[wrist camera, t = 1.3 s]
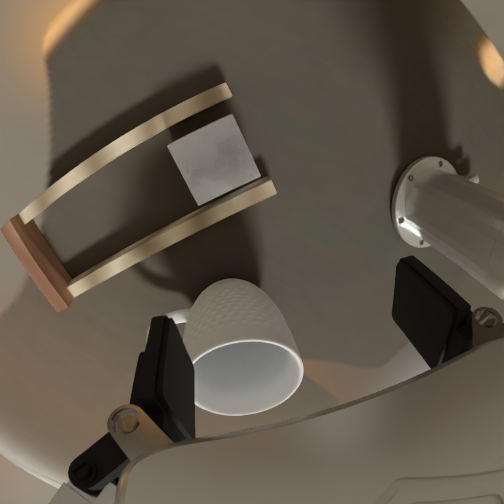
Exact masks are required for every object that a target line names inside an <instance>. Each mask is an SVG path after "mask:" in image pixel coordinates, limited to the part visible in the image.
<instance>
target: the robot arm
mask: <svg viewBox="0 0 504 504" xmlns="http://www.w3.org/2000/svg"><path fill="white" fill-rule="evenodd" d="M478 183H479V178H478V176H477V175H476V174H473V175H471V176H470V177H468V178H466V177H463V176H461V175H458V174H457V172H456V170H455V169H454V167H453V166H452V165H451V164H450V163H449V162H448V161H446V160H445V159H443V158H440V157H436V156H425V157H421V158H419V159H417V160H415V161H414V162H413V163H411V164H410V165H409V166H408V167H407V168H406V169H405V171H404V172H403V174H402V175H401V177H400V178H399V181H398V183H397V185H396V187H395V191H394V194H393V200H392V219H393V224H394V227H395V229H396V231H397V233H398V235H399V236H400V237H401V238H402V239H403V240H404V241H405V242H407V243H408V244H410V245H412V246H414V247H419V248H422V247H428V246H432V247H434V248H435V249H437V250H438V251H440V252H441V253H442V254H444V255H445V256H446V257H448V258H449V259H451V260H452V261H453V262H455V263H456V264H457V265H459V266H460V267H461V268H463V269H464V270H465V271H467V272H468V273H469V274H470V275H472V276H473V277H474V278H476V279H477V280H478V281H479V282H481V283H482V284H483V285H484V286H486V287H487V288H488V289H489V290H490V291H492V292H493V293H494V294H496V295H497V296H498V297H500V298H501V299H503V300H504V195H502V194H500V193H498V192H496V191H494V190H491V189H489V188H487V187H484V186H482V185H479V184H478ZM470 308H471V305H469V303H467V302H466V301H465V300H464V299H463V298H462V297H461V296H460V295H459V294H458V293H456V292H455V291H454V290H453V289H452V288H451V287H450V286H449V285H447V284H446V283H445V282H444V281H443V280H442V279H441V278H439V277H438V276H437V275H436V274H435V273H434V272H432V271H431V270H430V269H429V268H428V267H426V266H425V265H424V264H423V263H422V262H420V261H419V260H418V259H417V258H415V257H414V256H408V257H405V258H401V259H400V261H399V263H397V266H396V277H395V289H394V298H393V307H392V317H393V320H394V321H395V322H396V324H397V325H398V326H399V327H400V329H401V330H402V331H403V333H404V334H405V335H406V336H407V338H408V339H409V340H410V342H411V343H412V344H413V345H414V347H415V348H416V349H417V351H418V352H419V353H420V355H421V356H422V357H423V359H424V360H425V361H426V363H427V364H428V365H429V367H430V368H431V369H430V370H428V371H426V372H424V373H421V374H419V375H417V376H415V377H413V378H410V379H408V380H406V381H404V382H401V383H399V384H396V385H394V386H391V387H389V388H386V389H384V390H381V391H379V392H376V393H374V394H371V395H369V396H365V397H363V398H360V399H357V400H354V401H351V402H348V403H345V404H342V405H339V406H336V407H333V408H330V409H326V410H323V411H320V412H316V413H313V414H309V415H305V416H302V417H298V418H294V419H290V420H286V421H282V422H278V423H274V424H269V425H265V426H260V427H255V428H250V429H245V430H240V431H235V432H229V433H224V434H218V435H211V436H205V437H200V438H195V371H194V366H193V363H192V361H191V358H190V356H189V354H188V352H187V350H186V347H185V345H184V343H183V341H182V338H181V336H180V334H179V331H178V329H177V327H176V324H175V322H174V320H173V318H168V316H167V315H162V316H157V317H153V318H152V320H151V325H150V330H149V334H148V339H147V344H146V349H145V352H141V353H140V354H139V358H138V362H137V367H136V372H135V377H134V383H133V388H132V393H131V399H130V404H126V405H122V406H120V407H118V408H116V409H115V410H114V411H113V412H112V413H111V414H110V416H109V417H108V421H107V428H108V430H109V432H108V433H107V434H106V435H104V436H103V437H102V438H101V439H100V440H98V441H97V442H96V443H95V444H93V445H92V446H91V447H90V448H88V449H87V450H86V451H84V452H83V453H82V454H81V455H79V456H78V457H77V458H76V459H75V460H74V461H73V462H72V463H71V465H70V467H69V471H68V475H69V479H70V480H69V482H68V483H67V484H66V483H63V484H62V485H61V487H60V488H59V490H58V491H57V492H56V494H55V495H54V497H53V498H52V499H51V501H50V502H49V504H504V323H503V320H502V317H501V315H500V314H499V313H498V312H497V311H496V310H494V309H492V308H489V307H480V308H477V309H475V310H474V312H472V311H471V310H470Z"/></svg>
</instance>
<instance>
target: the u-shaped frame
mask: <svg viewBox="0 0 504 504" xmlns="http://www.w3.org/2000/svg"><path fill="white" fill-rule="evenodd" d="M231 97H232V94H231V92H230V90H229V88H228V86H227V84H226V82H225V83H223V84H221V85H218V86H216V87H214V88H211V89H209V90H207V91H205V92H203V93H201V94H198V95H196V96H194V97H192V98H190V99H188V100H186V101H184V102H182V103H180V104H178V105H176V106H174V107H172V108H170V109H168V110H167V111H165V112H163V113H161V114H159V115H157V116H156V117H154V118H152V119H150V120H148V121H147V122H145V123H143V124H141V125H140V126H138V127H136V128H135V129H133V130H131V131H130V132H128V133H126V134H125V135H123V136H121V137H120V138H118V139H117V140H115V141H113V142H112V143H110V144H109V145H107V146H106V147H104V148H103V149H101V150H100V151H98V152H97V153H95V154H94V155H92V156H91V157H89V158H88V159H87V160H85V161H84V162H82V163H81V164H80V165H78V166H77V167H75V168H74V169H73V170H71V171H70V172H69V173H67V174H66V175H65V176H63V177H62V178H61V179H59V180H58V181H57V182H56V183H54V184H53V185H52V186H51V187H49V188H48V189H47V190H46V191H44V192H43V193H42V194H41V195H40V196H38V197H37V198H36V199H35V200H34V201H32V202H31V203H30V204H29V205H28V206H27V207H26V208H24V209H23V210H22V211H21V212H20V213H19V214H18V215H16V216H15V217H13V218H12V219H10V220H9V221H8V222H7V223H6V224H5V225H4V226H3V227H2V228H1V230H2V233H3V234H4V236H5V238H6V239H7V241H8V243H9V244H10V246H11V247H12V249H13V251H14V252H15V254H16V255H17V257H18V258H19V260H20V261H21V263H22V264H23V266H24V267H25V269H26V270H27V272H28V273H29V275H30V276H31V278H32V279H33V280H34V282H35V283H36V285H37V286H38V287H39V289H40V290H41V291H42V293H43V294H44V295H45V297H46V298H47V299H48V300H49V302H50V303H51V304H52V306H53V307H54V308H55V309H56V311H57V312H58V313H59V312H61V311H63V310H64V309H66V308H68V307H69V306H70V304H71V302H72V300H73V299H74V297H76V296H78V295H79V294H81V293H83V292H85V291H86V290H88V289H90V288H92V287H94V286H95V285H97V284H99V283H101V282H103V281H104V280H106V279H108V278H110V277H112V276H114V275H115V274H117V273H119V272H121V271H123V270H125V269H126V268H128V267H130V266H132V265H134V264H136V263H138V262H140V261H141V260H143V259H145V258H147V257H149V256H151V255H153V254H155V253H157V252H159V251H161V250H162V249H164V248H166V247H168V246H170V245H172V244H174V243H176V242H178V241H180V240H182V239H184V238H186V237H188V236H190V235H192V234H194V233H196V232H198V231H200V230H202V229H204V228H206V227H208V226H210V225H212V224H214V223H216V222H218V221H220V220H222V219H224V218H226V217H228V216H230V215H232V214H234V213H237V212H239V211H241V210H243V209H245V208H247V207H249V206H251V205H253V204H255V203H257V202H260V201H262V200H264V199H266V198H268V197H270V196H272V195H275V194H277V192H276V190H275V188H274V185H273V183H272V181H271V179H269V178H268V177H267V176H266V177H264V178H262V179H260V180H258V181H256V182H253V183H251V184H249V185H247V186H245V187H243V188H241V189H239V190H236V191H234V192H232V193H230V194H228V195H226V196H224V197H222V198H220V199H218V200H216V201H214V202H212V203H210V204H208V205H206V206H204V207H202V208H200V209H198V210H196V211H194V212H192V213H190V214H188V215H186V216H184V217H182V218H180V219H178V220H177V221H175V222H173V223H171V224H169V225H167V226H165V227H163V228H161V229H159V230H158V231H156V232H154V233H152V234H150V235H148V236H147V237H145V238H143V239H141V240H139V241H137V242H136V243H134V244H132V245H130V246H128V247H127V248H125V249H123V250H121V251H120V252H118V253H116V254H114V255H113V256H111V257H109V258H107V259H106V260H104V261H102V262H100V263H99V264H97V265H95V266H94V267H92V268H90V269H89V270H87V271H85V272H84V273H82V274H80V275H79V276H77V277H75V278H74V279H72V278H71V277H70V275H69V274H68V272H67V271H66V270H65V268H64V267H63V265H62V264H61V262H60V261H59V260H58V258H57V257H56V255H55V254H54V252H53V251H52V249H51V248H50V246H49V244H48V243H47V241H46V240H45V238H44V237H43V235H42V233H41V232H40V230H39V229H38V227H37V225H36V224H35V222H34V220H33V218H34V217H36V216H37V215H38V214H39V213H40V212H42V211H43V210H44V209H45V208H47V207H48V206H49V205H50V204H52V203H53V202H54V201H56V200H57V199H58V198H59V197H61V196H62V195H63V194H65V193H66V192H67V191H69V190H70V189H72V188H73V187H74V186H76V185H77V184H78V183H80V182H81V181H83V180H84V179H86V178H87V177H88V176H90V175H91V174H93V173H94V172H96V171H97V170H99V169H100V168H102V167H103V166H105V165H106V164H108V163H109V162H111V161H112V160H114V159H116V158H117V157H119V156H120V155H122V154H124V153H125V152H127V151H129V150H130V149H132V148H134V147H135V146H137V145H139V144H140V143H142V142H144V141H145V140H147V139H149V138H151V137H152V136H154V135H156V134H158V133H160V132H162V131H163V130H165V129H167V128H169V127H171V126H173V125H175V124H176V123H178V122H180V121H182V120H184V119H186V118H188V117H190V116H192V115H194V114H196V113H198V112H200V111H203V110H205V109H207V108H209V107H211V106H213V105H215V104H218V103H220V102H222V101H224V100H226V99H229V98H231Z"/></svg>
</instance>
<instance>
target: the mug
mask: <svg viewBox="0 0 504 504" xmlns="http://www.w3.org/2000/svg"><path fill="white" fill-rule="evenodd" d="M164 315H167V316H168V318H173V320H174V322H175V324H177V323H182V322H186V326H185V332H184V335H183V343H184V345H185V347H186V350H187V352H188V354H189V356H190V358H191V361H192V363H193V366H194V371H195V404H196V405H197V406H199V407H200V408H202V409H204V410H207V411H210V412H213V413H217V414H222V415H235V416H237V415H247V414H253V413H258V412H261V411H265V410H267V409H270V408H273V407H275V406H277V405H279V404H280V403H282V402H283V401H285V400H286V399H288V398H289V397H290V396H291V395H292V394H293V393H294V392H295V390H296V389H297V388H298V386H299V385H300V383H301V380H302V377H303V364H302V360H301V357H300V355H299V352H298V350H297V347H296V343H295V342H294V340H293V337H292V334H291V332H290V330H289V327H288V325H287V323H286V321H285V319H284V317H283V316H282V314H281V312H280V310H279V309H278V308H277V306H276V304H275V303H274V302H273V301H272V300H271V298H270V297H268V296H267V294H266V293H265V292H263V291H262V290H261V289H260V288H258V287H257V286H256V285H254V284H252V283H250V282H247V281H245V280H241V279H223V280H220V281H217V282H215V283H213V284H211V285H210V286H209V287H207V288H206V289H205V290H204V291H202V293H201V294H200V295H199V296H198V298H197V300H196V301H195V302H194V305H193V306H192V308H190V309H183V310H177V311H173V312H169V313H167V314H164ZM149 330H150V327H149V329H148V331H147V335H146V344H147V339H148V334H149Z"/></svg>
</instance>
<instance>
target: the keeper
mask: <svg viewBox="0 0 504 504" xmlns="http://www.w3.org/2000/svg"><path fill="white" fill-rule="evenodd" d="M167 147H168V149H169V151H170V153H171V155H172V157H173V159H174V161H175V162H176V164H177V166H178V168H179V170H180V172H181V174H182V176H183V178H184V180H185V182H186V183H187V185H188V187H189V189H190V191H191V193H192V195H193V197H194V199H195V200H196V202H197V204H198V206H200V205H202V204H204V203H206V202H208V201H210V200H212V199H214V198H216V197H218V196H220V195H222V194H224V193H226V192H228V191H230V190H233V189H235V188H237V187H239V186H241V185H243V184H245V183H247V182H250V181H252V180H254V179H256V178H258V177H260V176H261V175H260V173H259V171H258V168H257V166H256V164H255V162H254V160H253V157H252V155H251V153H250V151H249V149H248V146H247V144H246V142H245V140H244V138H243V136H242V133H241V131H240V129H239V127H238V125H237V123H236V121H235V118H234V116H233V114H230V115H227V116H224V117H222V118H220V119H218V120H216V121H214V122H211V123H209V124H207V125H205V126H203V127H201V128H199V129H197V130H195V131H193V132H191V133H189V134H187V135H185V136H183V137H181V138H179V139H177V140H175V141H173V142H172V143H170V144H169V145H167Z"/></svg>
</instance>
